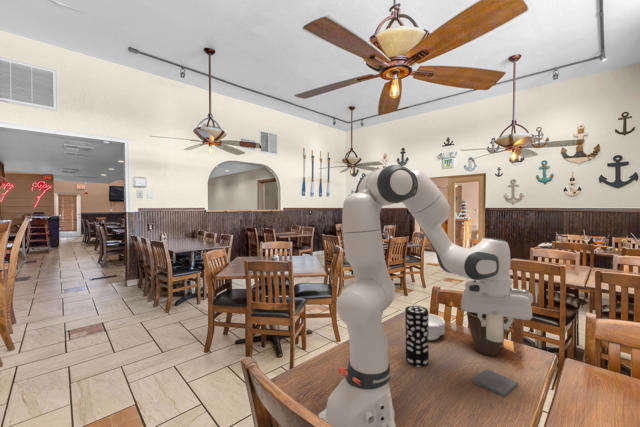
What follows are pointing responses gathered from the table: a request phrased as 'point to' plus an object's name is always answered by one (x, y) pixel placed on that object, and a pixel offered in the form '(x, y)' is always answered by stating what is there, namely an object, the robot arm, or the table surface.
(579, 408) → the table surface
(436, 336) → the paper bowls
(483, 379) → the plate
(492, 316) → the shaker
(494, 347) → the plant pot
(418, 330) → the spotted tube
